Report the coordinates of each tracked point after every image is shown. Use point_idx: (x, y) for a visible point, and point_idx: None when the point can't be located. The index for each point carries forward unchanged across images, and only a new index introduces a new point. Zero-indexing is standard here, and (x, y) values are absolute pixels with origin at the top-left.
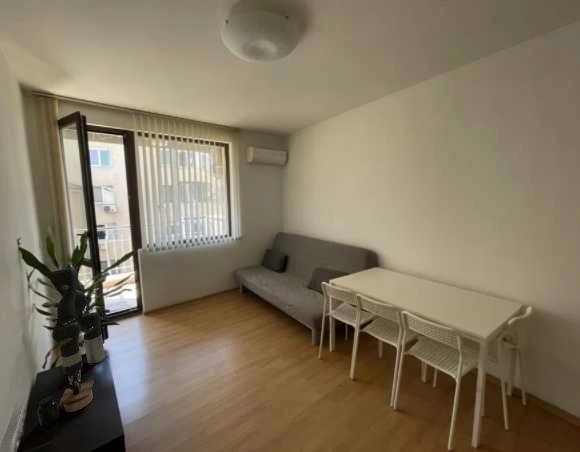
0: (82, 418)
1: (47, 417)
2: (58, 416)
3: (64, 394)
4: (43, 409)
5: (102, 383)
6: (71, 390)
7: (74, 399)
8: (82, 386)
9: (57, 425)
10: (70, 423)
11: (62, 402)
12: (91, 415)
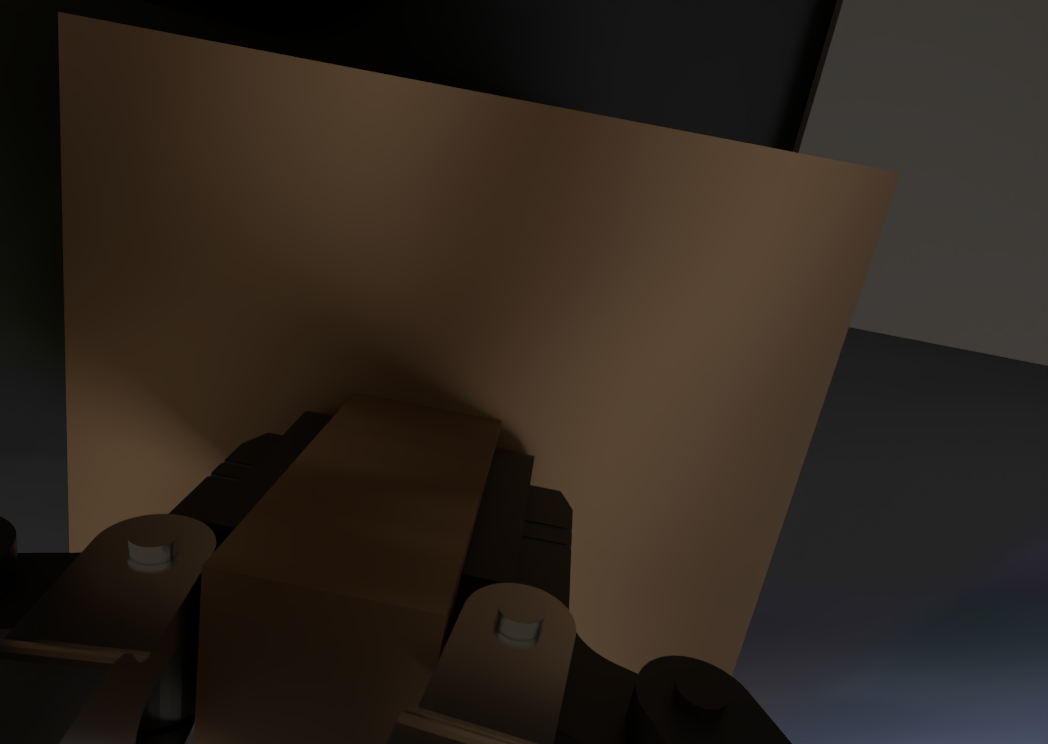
0: (49, 386)
1: None
2: (208, 19)
3: (570, 151)
4: None
5: (851, 674)
6: (630, 338)
7: (67, 421)
8: (591, 591)
9: (93, 17)
10: (25, 225)
11: (123, 129)
12: (48, 495)
